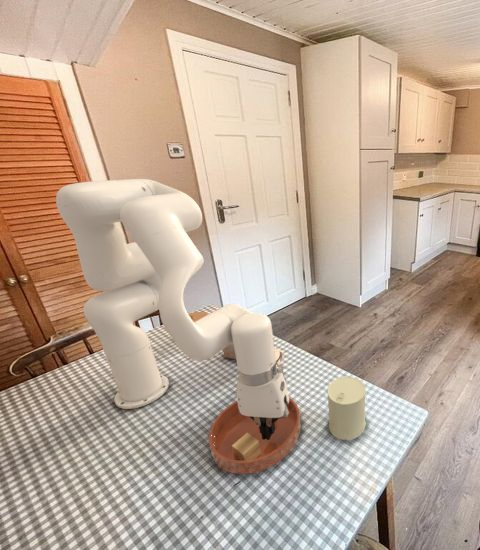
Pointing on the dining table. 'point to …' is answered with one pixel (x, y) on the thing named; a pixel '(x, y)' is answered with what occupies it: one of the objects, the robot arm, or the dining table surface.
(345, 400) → the can
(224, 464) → the bowl
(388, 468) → the dining table surface
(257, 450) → the birch block
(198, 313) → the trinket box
